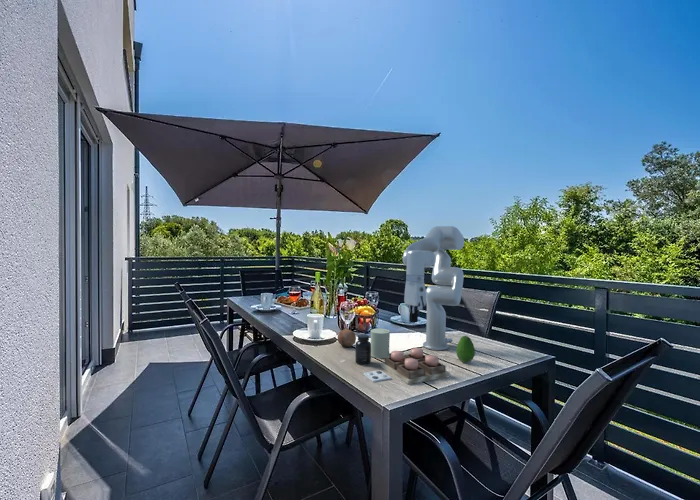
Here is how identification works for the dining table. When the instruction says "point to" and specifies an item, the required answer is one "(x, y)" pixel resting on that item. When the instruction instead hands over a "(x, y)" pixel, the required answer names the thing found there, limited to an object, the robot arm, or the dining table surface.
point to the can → (380, 343)
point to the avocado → (465, 349)
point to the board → (414, 370)
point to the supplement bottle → (363, 350)
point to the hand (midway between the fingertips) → (413, 322)
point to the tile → (377, 375)
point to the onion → (346, 338)
